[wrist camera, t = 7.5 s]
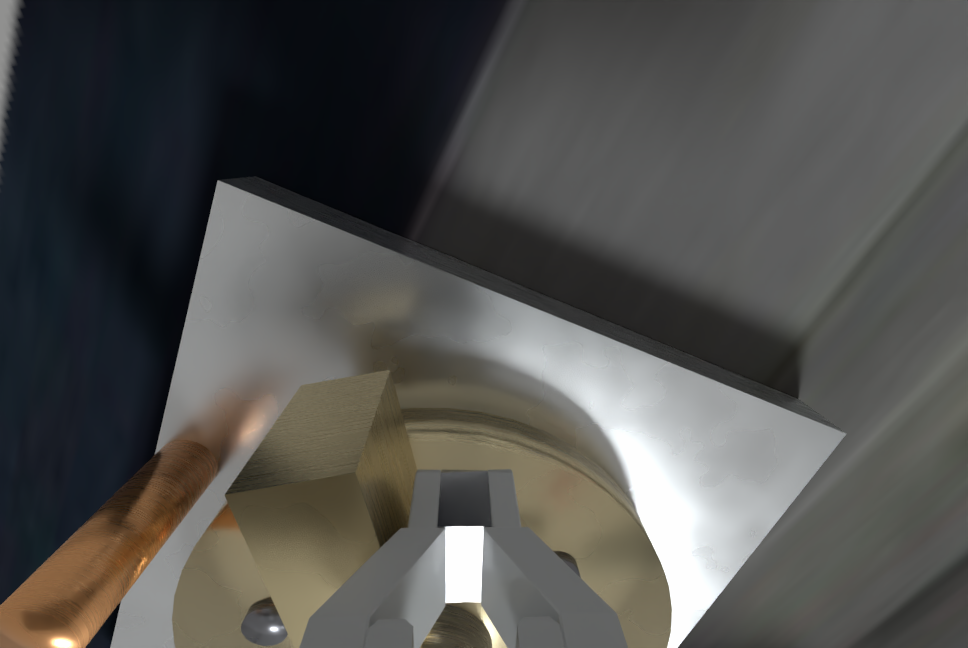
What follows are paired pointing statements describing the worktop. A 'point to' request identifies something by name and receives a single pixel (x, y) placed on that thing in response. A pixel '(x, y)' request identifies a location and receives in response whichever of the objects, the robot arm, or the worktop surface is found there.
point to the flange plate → (541, 505)
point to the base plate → (419, 384)
